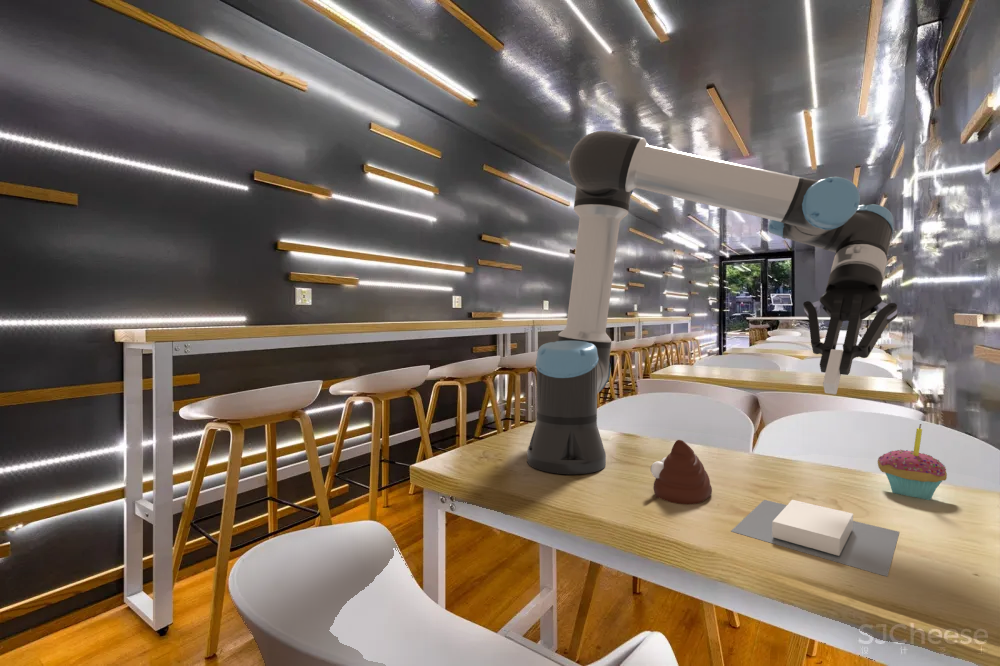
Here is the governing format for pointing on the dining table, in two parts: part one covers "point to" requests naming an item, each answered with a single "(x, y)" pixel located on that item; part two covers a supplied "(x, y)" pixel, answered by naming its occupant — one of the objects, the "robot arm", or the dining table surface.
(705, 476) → the poop emoji
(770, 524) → the slate board
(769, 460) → the dining table surface
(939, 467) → the cupcake
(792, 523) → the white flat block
